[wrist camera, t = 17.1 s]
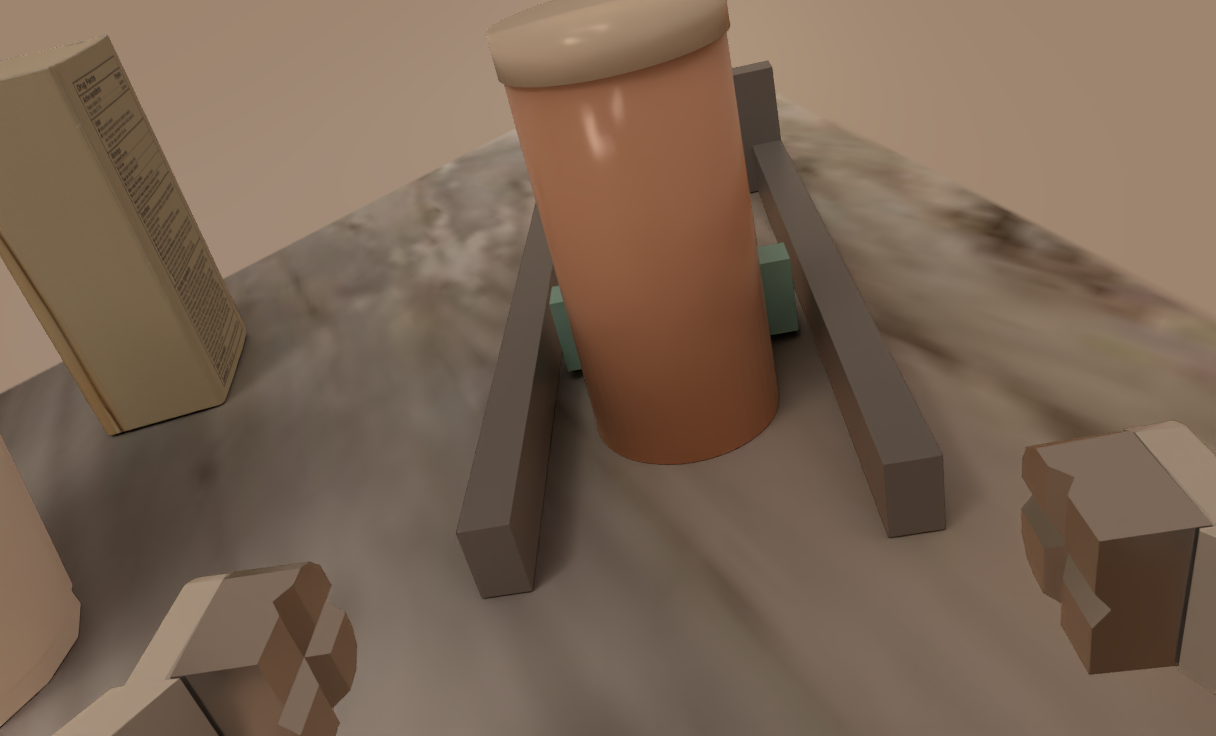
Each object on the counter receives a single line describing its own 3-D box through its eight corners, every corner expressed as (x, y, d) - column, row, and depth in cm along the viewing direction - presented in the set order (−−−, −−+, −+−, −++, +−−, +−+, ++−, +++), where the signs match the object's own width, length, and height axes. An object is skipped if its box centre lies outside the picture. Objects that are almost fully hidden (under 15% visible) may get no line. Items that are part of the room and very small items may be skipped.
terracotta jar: (591, 481, 23) (469, 55, 18) (596, 375, 28) (499, 10, 23) (798, 446, 23) (737, -6, 17) (768, 343, 27) (711, -40, 22)
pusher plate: (799, 330, 27) (789, 258, 26) (568, 371, 28) (549, 304, 27) (767, 240, 33) (758, 178, 32) (578, 276, 34) (563, 218, 33)
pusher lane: (945, 528, 19) (938, 328, 17) (482, 598, 20) (411, 421, 18) (782, 175, 39) (767, 60, 37) (552, 222, 40) (523, 113, 38)
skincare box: (148, 362, 37) (-18, 63, 31) (254, 331, 37) (111, 30, 31) (106, 443, 31) (-106, 100, 25) (231, 406, 32) (51, 59, 26)
